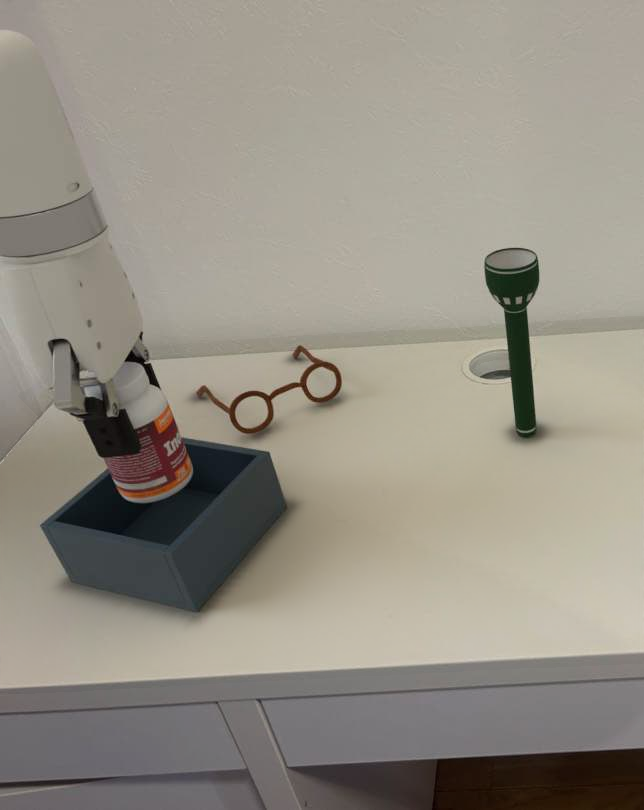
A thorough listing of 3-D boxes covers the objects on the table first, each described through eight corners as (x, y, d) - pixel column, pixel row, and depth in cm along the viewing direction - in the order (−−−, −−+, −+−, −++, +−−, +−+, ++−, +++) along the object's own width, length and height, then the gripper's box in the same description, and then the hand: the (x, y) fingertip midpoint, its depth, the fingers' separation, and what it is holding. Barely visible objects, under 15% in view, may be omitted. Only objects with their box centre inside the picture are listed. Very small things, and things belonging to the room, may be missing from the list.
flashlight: (547, 416, 87) (534, 244, 76) (553, 443, 83) (541, 266, 72) (500, 421, 87) (481, 250, 76) (504, 449, 83) (485, 272, 71)
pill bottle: (198, 491, 68) (155, 384, 62) (121, 515, 66) (69, 406, 60) (192, 452, 73) (152, 349, 67) (120, 473, 71) (72, 369, 65)
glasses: (240, 443, 87) (227, 405, 84) (196, 396, 95) (183, 360, 92) (347, 395, 93) (338, 358, 90) (297, 355, 102) (288, 321, 99)
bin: (71, 582, 71) (39, 525, 67) (173, 485, 81) (150, 431, 77) (197, 612, 67) (171, 554, 63) (287, 507, 77) (269, 451, 73)
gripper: (39, 189, 63) (121, 380, 73) (-72, 281, 49) (48, 502, 59) (136, 179, 64) (203, 370, 74) (53, 268, 50) (151, 489, 60)
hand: (133, 427), depth 66 cm, fingers closed on pill bottle, 6 cm apart
